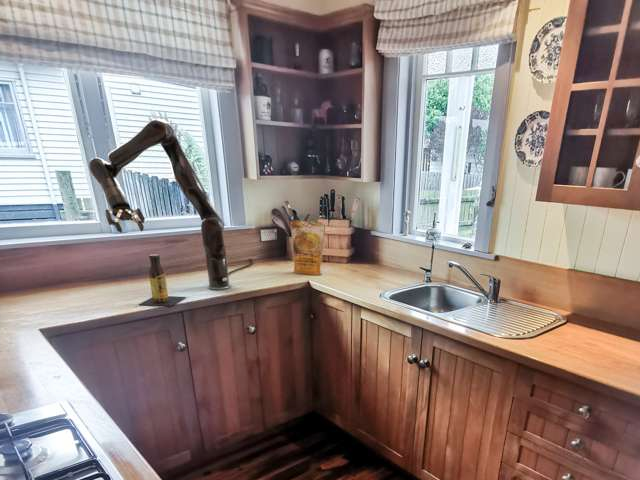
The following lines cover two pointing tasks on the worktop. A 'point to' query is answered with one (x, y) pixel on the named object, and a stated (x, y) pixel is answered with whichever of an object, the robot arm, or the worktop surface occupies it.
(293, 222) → the pancake mix bag
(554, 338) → the worktop surface
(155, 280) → the sauce bottle
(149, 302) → the mat
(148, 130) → the robot arm
